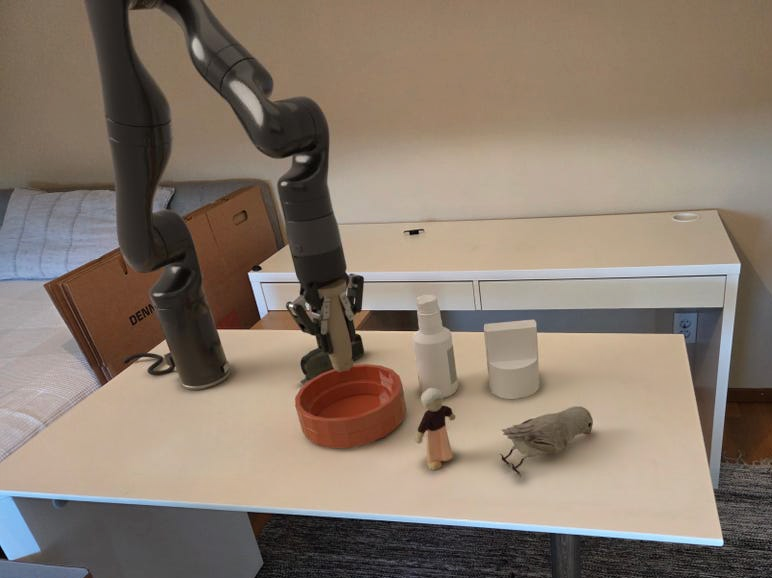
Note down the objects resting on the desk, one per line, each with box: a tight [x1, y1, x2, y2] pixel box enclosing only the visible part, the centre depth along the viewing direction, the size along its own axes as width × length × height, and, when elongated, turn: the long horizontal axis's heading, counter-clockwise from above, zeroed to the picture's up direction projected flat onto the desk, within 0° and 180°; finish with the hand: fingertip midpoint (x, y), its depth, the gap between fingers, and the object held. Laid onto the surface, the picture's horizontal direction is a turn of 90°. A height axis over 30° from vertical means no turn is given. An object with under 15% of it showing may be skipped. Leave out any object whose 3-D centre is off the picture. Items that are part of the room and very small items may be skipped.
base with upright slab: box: [483, 319, 540, 400], centre depth 111 cm, size 9×9×12 cm
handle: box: [318, 279, 354, 372], centre depth 100 cm, size 5×6×15 cm
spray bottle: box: [412, 293, 459, 399], centre depth 111 cm, size 7×7×18 cm
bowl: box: [294, 363, 407, 449], centre depth 107 cm, size 18×18×6 cm
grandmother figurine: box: [414, 388, 457, 471], centre depth 94 cm, size 8×4×13 cm, turn 148°
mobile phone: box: [299, 333, 365, 385], centre depth 124 cm, size 5×3×15 cm
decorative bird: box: [499, 405, 594, 478], centre depth 94 cm, size 5×16×8 cm, turn 122°
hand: (338, 346), depth 102 cm, fingers closed on handle, 4 cm apart
